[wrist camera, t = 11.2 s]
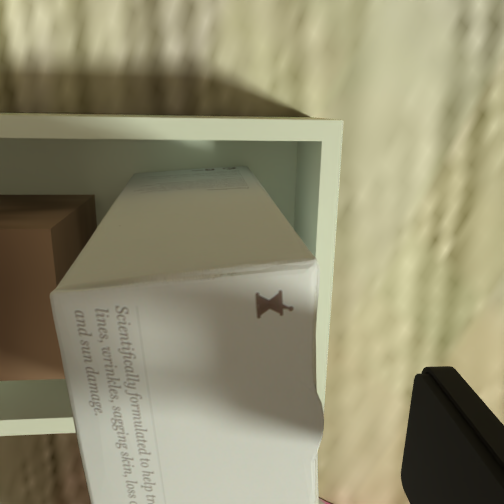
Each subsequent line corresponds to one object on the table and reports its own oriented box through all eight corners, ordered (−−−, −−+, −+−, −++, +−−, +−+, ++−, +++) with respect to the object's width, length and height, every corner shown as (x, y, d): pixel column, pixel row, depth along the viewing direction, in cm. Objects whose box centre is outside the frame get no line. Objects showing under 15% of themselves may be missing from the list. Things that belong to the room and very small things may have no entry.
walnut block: (94, 194, 24) (50, 228, 17) (103, 307, 25) (66, 378, 19) (-34, 194, 23) (-132, 230, 16) (-16, 309, 25) (-98, 384, 18)
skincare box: (133, 171, 24) (20, 268, 9) (255, 163, 24) (326, 244, 10) (152, 327, 26) (87, 592, 12) (264, 317, 26) (330, 561, 12)
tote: (311, 117, 24) (343, 120, 19) (299, 358, 28) (323, 422, 23) (-101, 111, 23) (-205, 112, 17) (-53, 369, 26) (-125, 441, 21)
